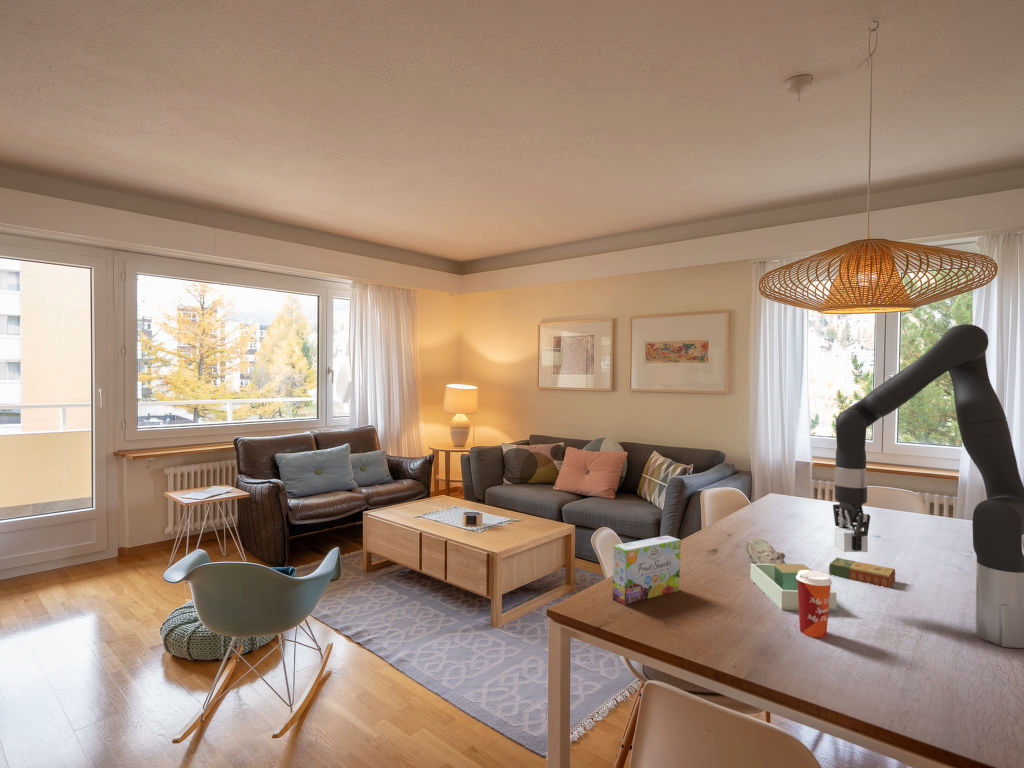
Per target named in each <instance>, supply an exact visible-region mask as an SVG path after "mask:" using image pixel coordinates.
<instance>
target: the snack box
mask: <svg viewBox="0 0 1024 768" xmlns="http://www.w3.org/2000/svg"><path fill="white" fill-rule="evenodd" d="M681 544H682V540H681V539H679V538H677V537H674V536H670V535H663V536H662V535H661V536H657V537H651V538H646V539H640V540H635V541H631V542H626V543H625V542H624V543H619V544H618V543H617V544H615V545H613V567H612V570H613V571H612V572H613V573H612V599H613V600H616V601H617V602H619V603H620V604H622V605H624V606H625V605H629V604H632V603H636V602H640V601H644V600H648V599H651V598H655V597H656V598H657V597H659V596H664V595H668V594H672V593H675V592H679V591H680V574H681V573H680V572H681V551H682V549H681V548H682V547H681V546H682V545H681Z"/></svg>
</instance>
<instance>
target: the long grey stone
mask: <svg viewBox="0 0 1024 768" xmlns="http://www.w3.org/2000/svg"><path fill="white" fill-rule="evenodd" d="M745 550H746V552H747V553H748V556H749V558H750V559H751V562H752V564H754V563H755V564H774V563H775V564H787V563H786V562H785V558H786V555H785V553H783V552H779V551H776V550H775V548H774V547H773V546H772V545H771V544H769V543H768V541H767V540H765V539H762V538H755V539H754V538H751V539H749V540H747V541H746V549H745Z"/></svg>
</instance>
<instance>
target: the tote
mask: <svg viewBox="0 0 1024 768" xmlns="http://www.w3.org/2000/svg"><path fill="white" fill-rule="evenodd" d="M750 579H751V580H752V581H753V582H754V583H755V584H756V585H757V586H758V587H759V588H760V589H761V590H762V591H763V592H764V593H765V594H764V593H763V592H762V591H761V590H760V589H759V588H758V587H757V586H756V585H755V584H754V583H753V582H752V581H751V580H750ZM750 579H749V580H750V581H751V582H752V583H753V584H754V585H755V586H756V587H757V588H758V589H759V590H760V591H761V592H762V593H763V594H764V595H765V596H767V597H768V599H770V600H771V601H772V602H773V603H774V604H775V605H776V606H777V608H779V609H780V610H782V611H799V604H798V590H783V589H782V588H781V587H780V586H779V585H777V584H776V583H775V582H774V579H775V566H774V564H754V563H750ZM837 596H838V595H837V592H836V591H835V590H833V588H831V587H830V599H829V611H828V613H829V612H834V613H837Z"/></svg>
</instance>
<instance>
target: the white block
mask: <svg viewBox="0 0 1024 768" xmlns="http://www.w3.org/2000/svg"><path fill="white" fill-rule="evenodd" d="M833 532H834V541H833V542H834V546H833V547H835V548H837V549H838V550H840V551H841V552H844V553H849V552H850V553H868V550H869V549H868V548H869V545H868V544H869V543H868V542H869V541H868V538H869V537H868V536H869V535H867V536H863V537H862V550H861V551H854V550H852V533H851V528H838V527H834V531H833ZM855 532H856V527H855Z"/></svg>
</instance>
